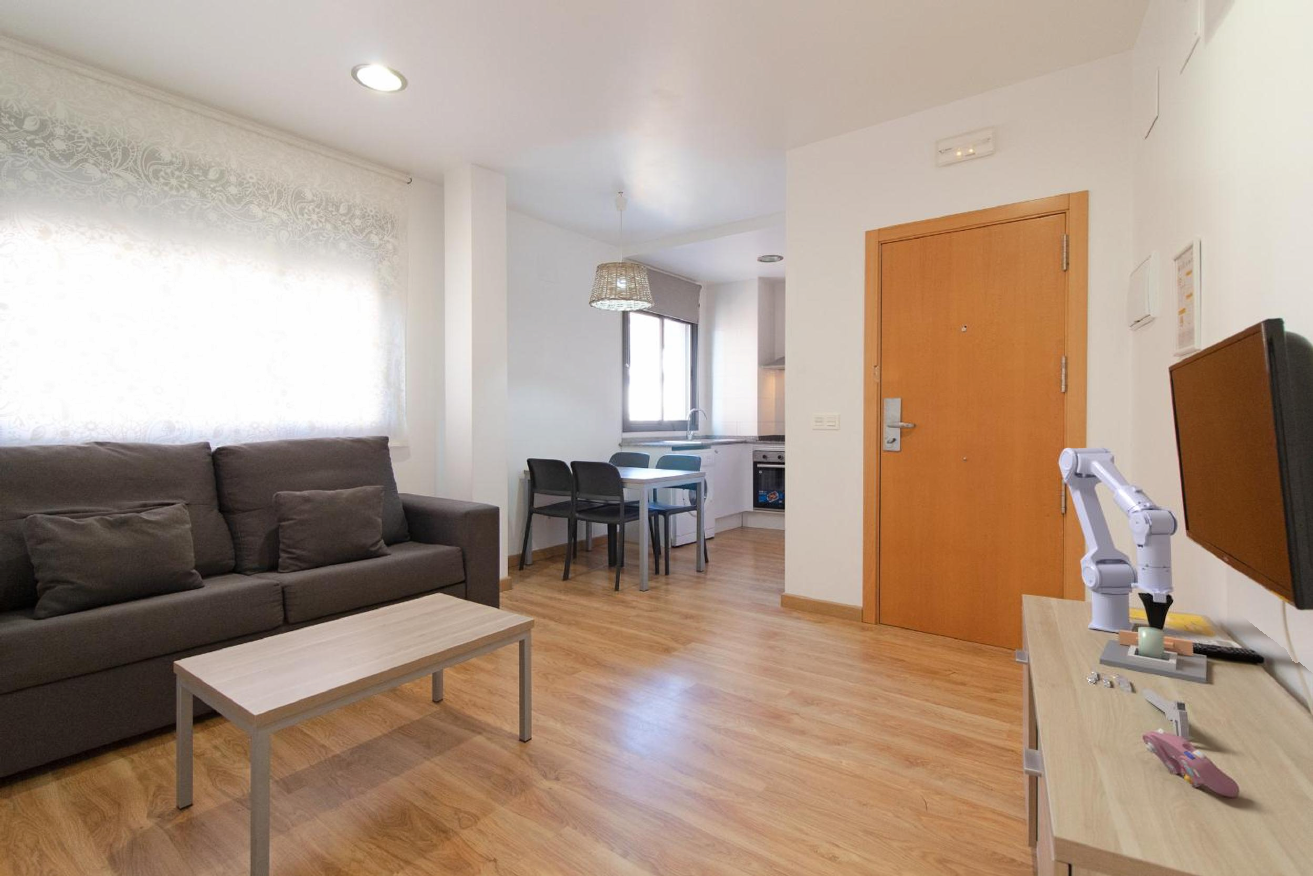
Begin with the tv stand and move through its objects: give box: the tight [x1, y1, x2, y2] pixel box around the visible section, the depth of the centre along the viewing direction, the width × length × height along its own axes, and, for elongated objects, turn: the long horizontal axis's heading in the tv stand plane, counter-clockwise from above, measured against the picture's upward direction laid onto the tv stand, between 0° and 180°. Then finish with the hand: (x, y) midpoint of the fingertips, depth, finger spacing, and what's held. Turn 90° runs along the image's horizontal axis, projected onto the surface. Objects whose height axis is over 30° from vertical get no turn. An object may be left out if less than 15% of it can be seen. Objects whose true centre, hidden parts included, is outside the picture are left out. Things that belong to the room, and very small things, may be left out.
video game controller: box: [1142, 728, 1240, 798], centre depth 82 cm, size 10×5×7 cm, turn 179°
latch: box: [1117, 629, 1194, 656], centre depth 126 cm, size 2×12×3 cm, turn 47°
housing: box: [1099, 639, 1208, 685], centre depth 123 cm, size 15×16×2 cm
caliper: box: [1140, 688, 1190, 743], centre depth 99 cm, size 20×1×6 cm, turn 155°
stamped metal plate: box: [1086, 668, 1132, 693], centre depth 114 cm, size 8×7×2 cm
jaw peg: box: [1137, 626, 1165, 660], centre depth 121 cm, size 4×4×6 cm
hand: (1156, 628), depth 130 cm, fingers closed
